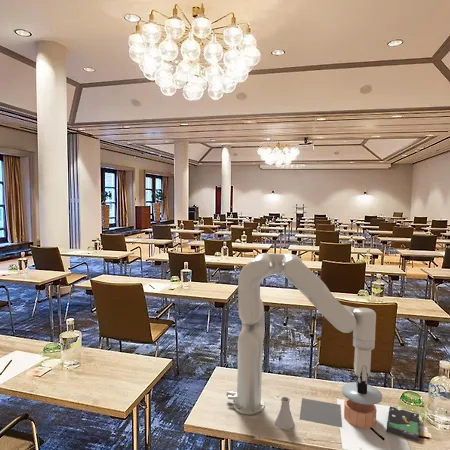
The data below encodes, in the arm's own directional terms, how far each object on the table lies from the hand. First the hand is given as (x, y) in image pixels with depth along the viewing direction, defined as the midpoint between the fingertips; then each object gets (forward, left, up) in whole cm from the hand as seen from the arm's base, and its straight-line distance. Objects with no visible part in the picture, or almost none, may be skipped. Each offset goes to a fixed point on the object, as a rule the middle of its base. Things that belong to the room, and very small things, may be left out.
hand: (361, 390), depth 132 cm
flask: (-27, -12, -12) cm, 32 cm away
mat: (-14, 0, -12) cm, 18 cm away
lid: (0, 0, -2) cm, 2 cm away
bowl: (0, 0, -12) cm, 12 cm away
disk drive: (+15, +2, -13) cm, 20 cm away
